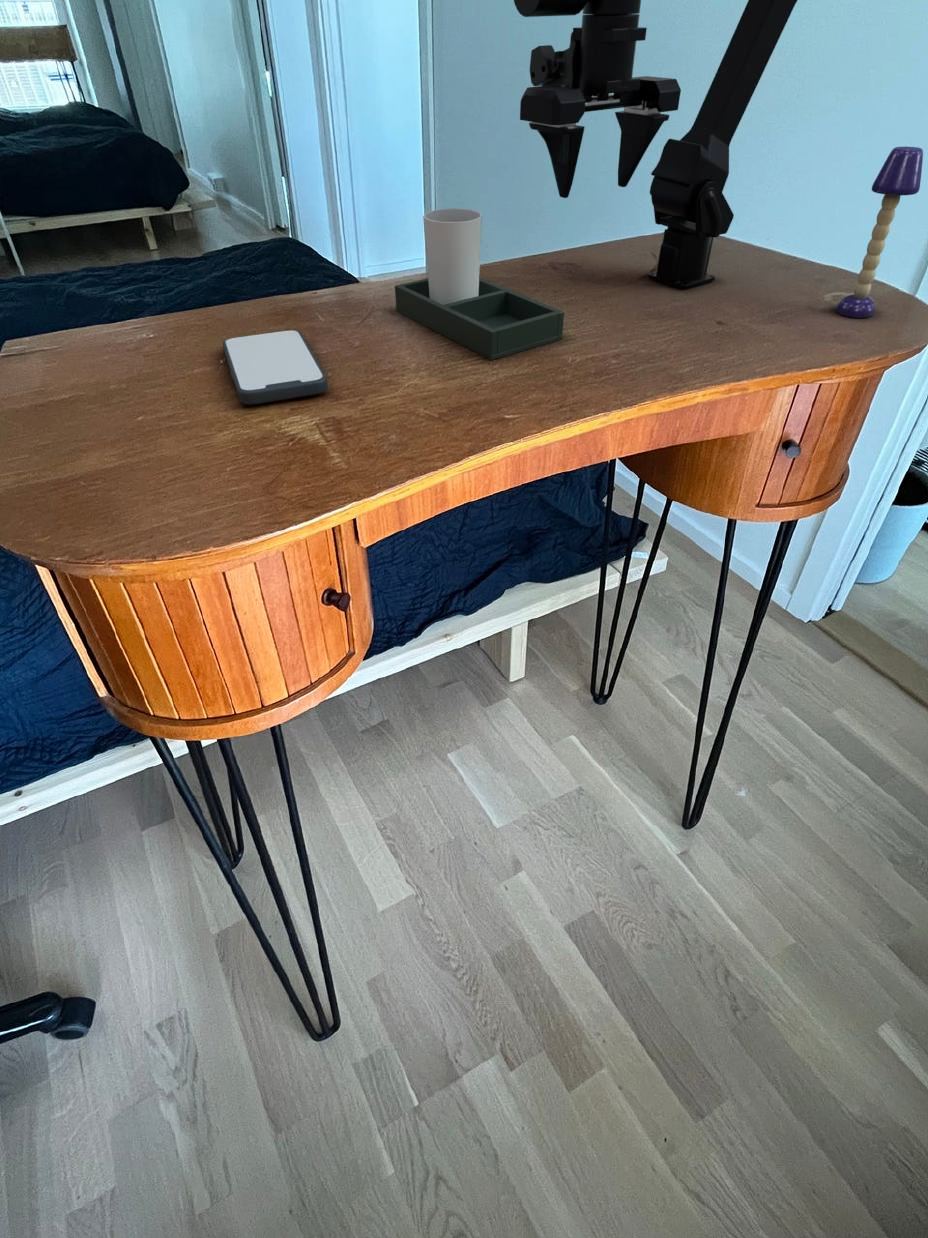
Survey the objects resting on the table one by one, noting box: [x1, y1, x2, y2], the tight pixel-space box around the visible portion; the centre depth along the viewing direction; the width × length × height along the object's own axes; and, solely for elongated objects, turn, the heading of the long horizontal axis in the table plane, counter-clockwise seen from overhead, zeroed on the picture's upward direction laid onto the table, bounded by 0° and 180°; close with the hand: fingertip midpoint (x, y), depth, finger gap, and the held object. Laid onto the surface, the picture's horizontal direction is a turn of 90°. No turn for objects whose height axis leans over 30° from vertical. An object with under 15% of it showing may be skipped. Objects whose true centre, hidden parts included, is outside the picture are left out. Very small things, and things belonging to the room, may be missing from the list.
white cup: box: [422, 207, 483, 305], centre depth 83 cm, size 7×7×10 cm
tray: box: [394, 276, 565, 361], centre depth 83 cm, size 10×19×3 cm, turn 36°
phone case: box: [222, 329, 329, 406], centre depth 74 cm, size 9×2×16 cm
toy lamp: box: [835, 146, 924, 319], centre depth 80 cm, size 5×5×17 cm
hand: (593, 191), depth 82 cm, fingers open, 9 cm apart
